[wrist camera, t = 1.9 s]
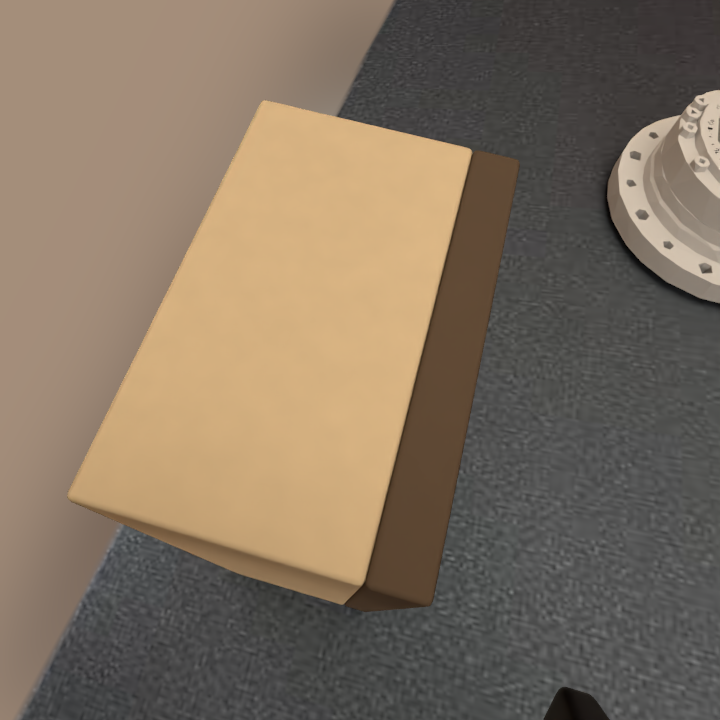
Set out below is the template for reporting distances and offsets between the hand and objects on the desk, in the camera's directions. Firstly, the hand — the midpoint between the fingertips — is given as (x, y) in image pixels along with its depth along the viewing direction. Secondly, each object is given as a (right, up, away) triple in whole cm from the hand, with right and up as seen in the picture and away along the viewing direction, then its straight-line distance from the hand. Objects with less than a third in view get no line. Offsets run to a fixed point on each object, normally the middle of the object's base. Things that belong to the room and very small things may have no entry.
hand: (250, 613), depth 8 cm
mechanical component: (+18, +10, +18) cm, 27 cm away
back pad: (+1, -1, +12) cm, 12 cm away
